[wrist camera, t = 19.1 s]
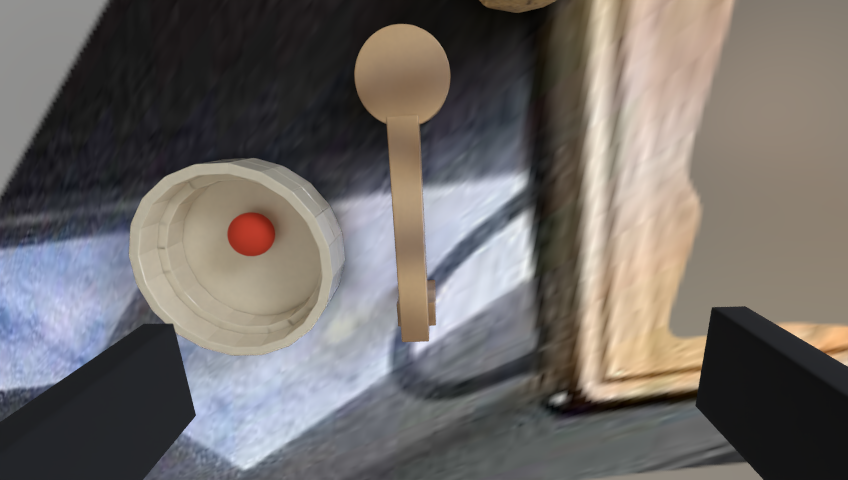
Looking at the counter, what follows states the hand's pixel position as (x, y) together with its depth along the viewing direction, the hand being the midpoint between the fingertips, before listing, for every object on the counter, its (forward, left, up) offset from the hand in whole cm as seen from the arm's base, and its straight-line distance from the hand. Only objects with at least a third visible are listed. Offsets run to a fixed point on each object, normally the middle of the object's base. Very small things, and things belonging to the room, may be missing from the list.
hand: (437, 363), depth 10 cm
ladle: (-1, -2, -25) cm, 25 cm away
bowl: (+4, -16, -25) cm, 30 cm away
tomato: (+2, -15, -22) cm, 27 cm away
